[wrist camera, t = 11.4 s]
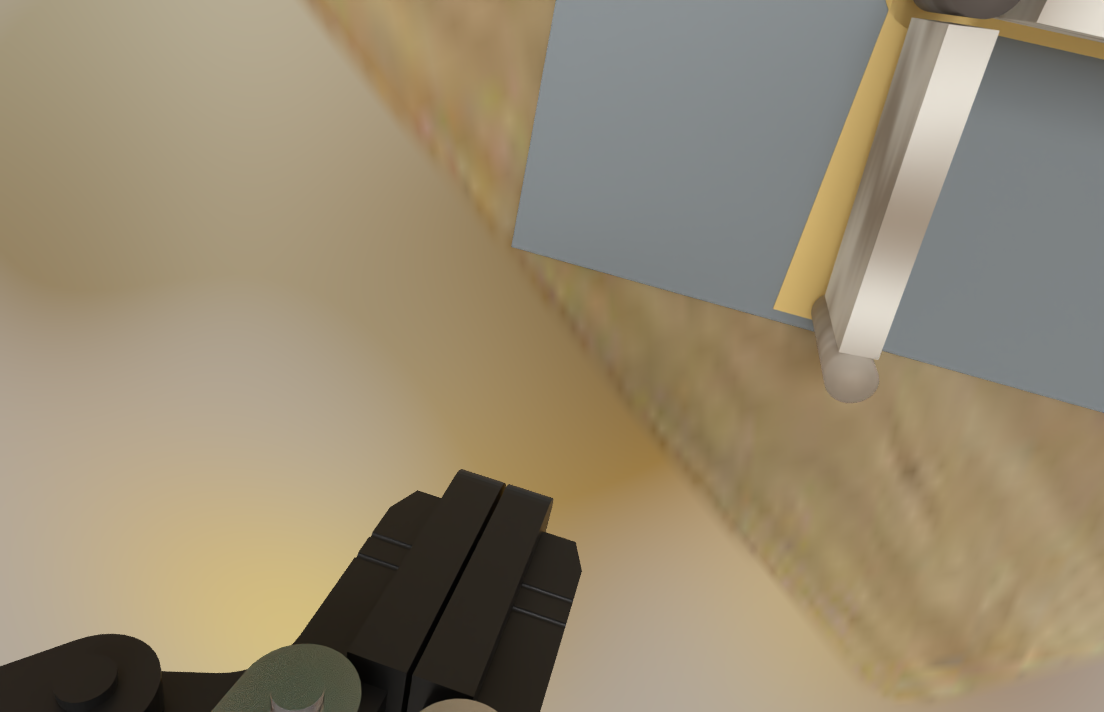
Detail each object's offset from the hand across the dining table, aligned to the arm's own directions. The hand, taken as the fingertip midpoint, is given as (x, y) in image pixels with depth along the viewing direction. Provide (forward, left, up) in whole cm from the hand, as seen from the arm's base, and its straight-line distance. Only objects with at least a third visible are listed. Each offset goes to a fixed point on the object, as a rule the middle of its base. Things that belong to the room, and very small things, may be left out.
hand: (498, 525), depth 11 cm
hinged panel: (-7, -4, -19) cm, 20 cm away
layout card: (-7, -6, -20) cm, 22 cm away
